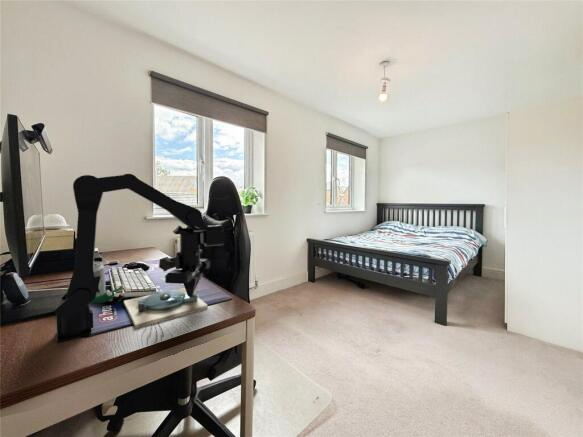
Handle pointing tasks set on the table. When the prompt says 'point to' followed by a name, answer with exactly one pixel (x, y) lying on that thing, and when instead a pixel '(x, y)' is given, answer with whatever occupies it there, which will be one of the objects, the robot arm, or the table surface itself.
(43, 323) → the table surface
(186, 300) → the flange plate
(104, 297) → the green irregular piece
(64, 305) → the robot arm
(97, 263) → the can
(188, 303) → the post base
